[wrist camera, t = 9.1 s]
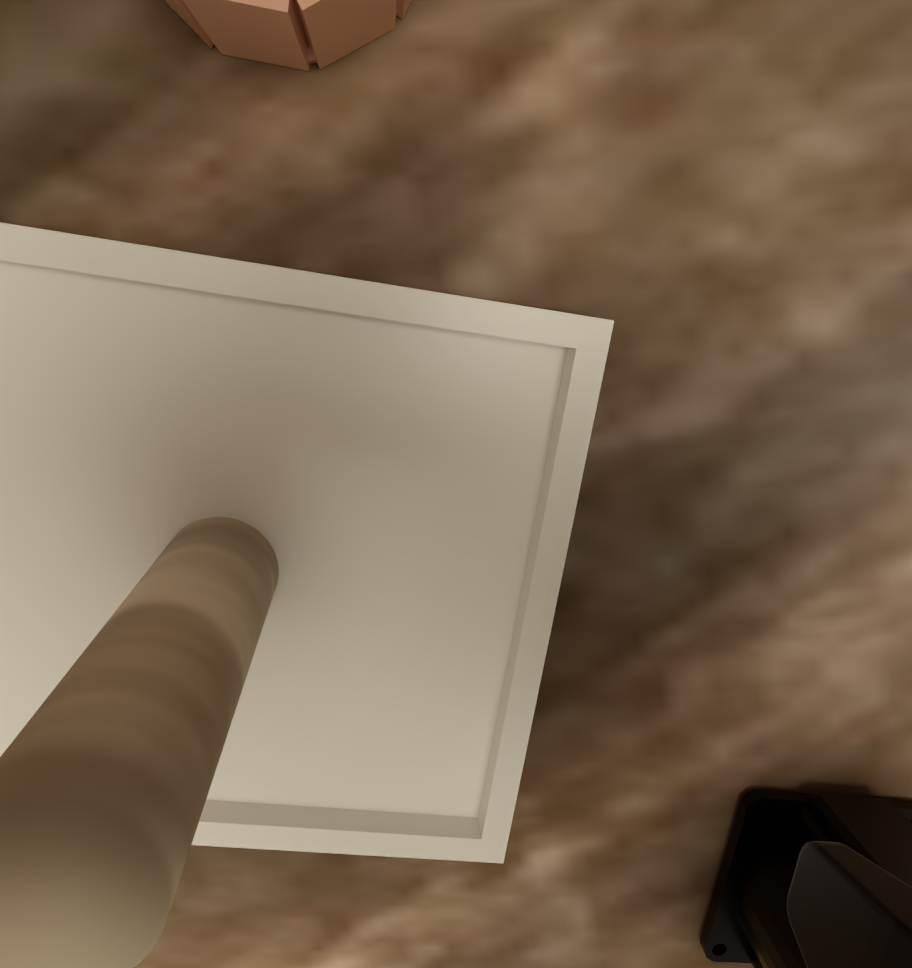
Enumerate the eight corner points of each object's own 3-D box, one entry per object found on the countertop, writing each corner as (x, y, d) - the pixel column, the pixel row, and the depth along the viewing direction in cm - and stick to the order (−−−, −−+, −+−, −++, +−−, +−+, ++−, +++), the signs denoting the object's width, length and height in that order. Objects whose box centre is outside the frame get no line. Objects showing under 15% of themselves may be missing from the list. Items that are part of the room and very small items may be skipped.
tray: (496, 827, 24) (503, 863, 22) (-120, 787, 21) (-156, 824, 20) (597, 317, 20) (614, 320, 18) (-147, 198, 17) (-194, 191, 16)
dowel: (272, 627, 20) (162, 998, 10) (159, 616, 20) (-83, 992, 9) (283, 524, 20) (176, 806, 9) (166, 510, 19) (-89, 789, 9)
